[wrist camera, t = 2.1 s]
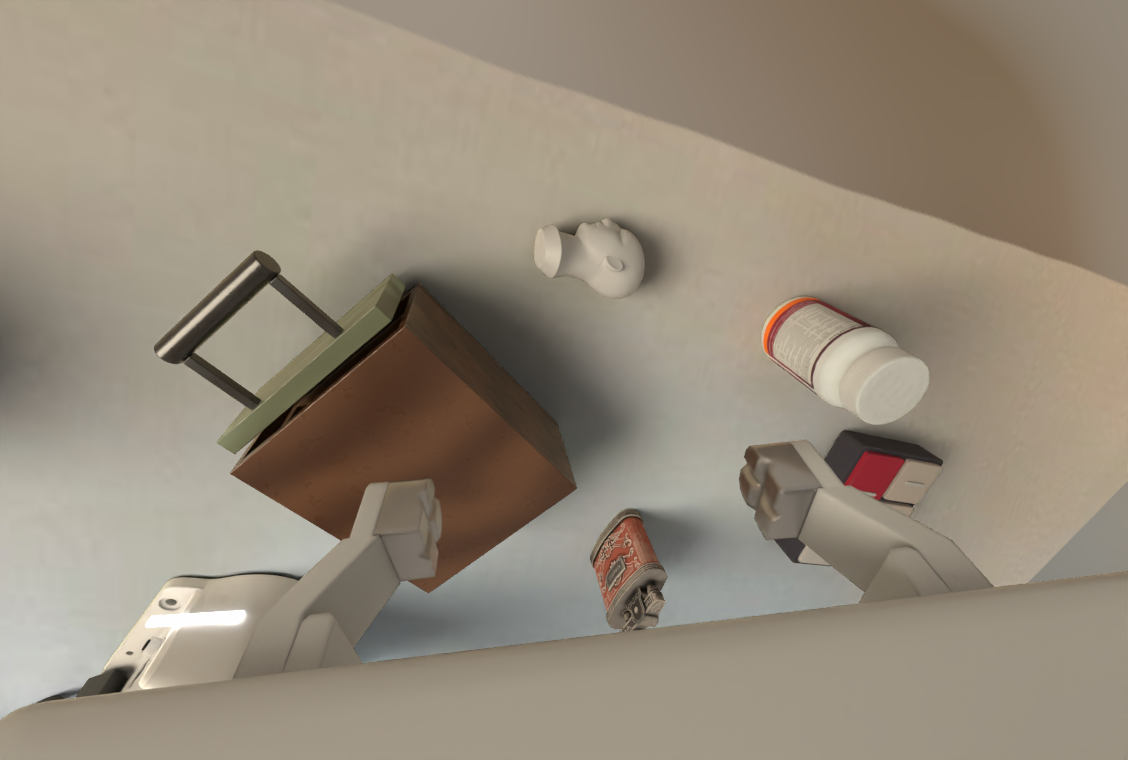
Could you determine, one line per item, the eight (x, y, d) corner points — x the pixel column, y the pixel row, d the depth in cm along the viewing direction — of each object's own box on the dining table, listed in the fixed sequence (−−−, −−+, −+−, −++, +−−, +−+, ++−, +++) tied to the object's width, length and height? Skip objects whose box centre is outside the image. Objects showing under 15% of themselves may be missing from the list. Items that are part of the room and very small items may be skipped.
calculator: (952, 465, 47) (873, 575, 52) (915, 442, 51) (846, 547, 56) (870, 449, 44) (795, 568, 49) (837, 426, 48) (771, 539, 53)
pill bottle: (833, 333, 41) (946, 397, 31) (772, 373, 42) (864, 447, 32) (812, 279, 38) (929, 330, 29) (747, 323, 39) (839, 388, 29)
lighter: (619, 505, 47) (654, 591, 38) (647, 513, 48) (686, 598, 39) (583, 561, 49) (606, 653, 41) (610, 567, 51) (638, 657, 42)
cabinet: (279, 402, 35) (229, 473, 28) (419, 282, 33) (404, 326, 26) (435, 514, 43) (428, 593, 36) (558, 424, 41) (577, 488, 33)
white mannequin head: (639, 238, 35) (619, 304, 36) (540, 201, 33) (521, 272, 33) (667, 232, 31) (645, 306, 32) (558, 189, 29) (535, 271, 29)
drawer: (181, 332, 31) (115, 380, 25) (321, 201, 29) (284, 220, 23) (417, 502, 41) (409, 563, 35) (534, 414, 39) (546, 464, 33)
